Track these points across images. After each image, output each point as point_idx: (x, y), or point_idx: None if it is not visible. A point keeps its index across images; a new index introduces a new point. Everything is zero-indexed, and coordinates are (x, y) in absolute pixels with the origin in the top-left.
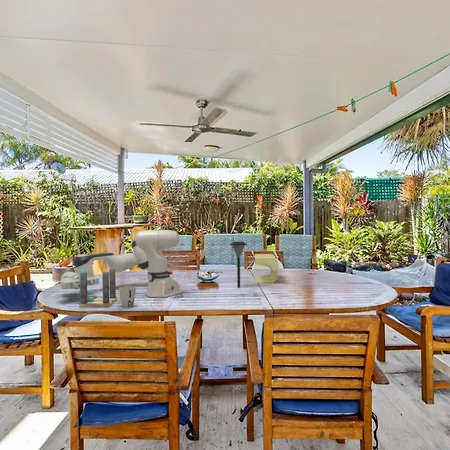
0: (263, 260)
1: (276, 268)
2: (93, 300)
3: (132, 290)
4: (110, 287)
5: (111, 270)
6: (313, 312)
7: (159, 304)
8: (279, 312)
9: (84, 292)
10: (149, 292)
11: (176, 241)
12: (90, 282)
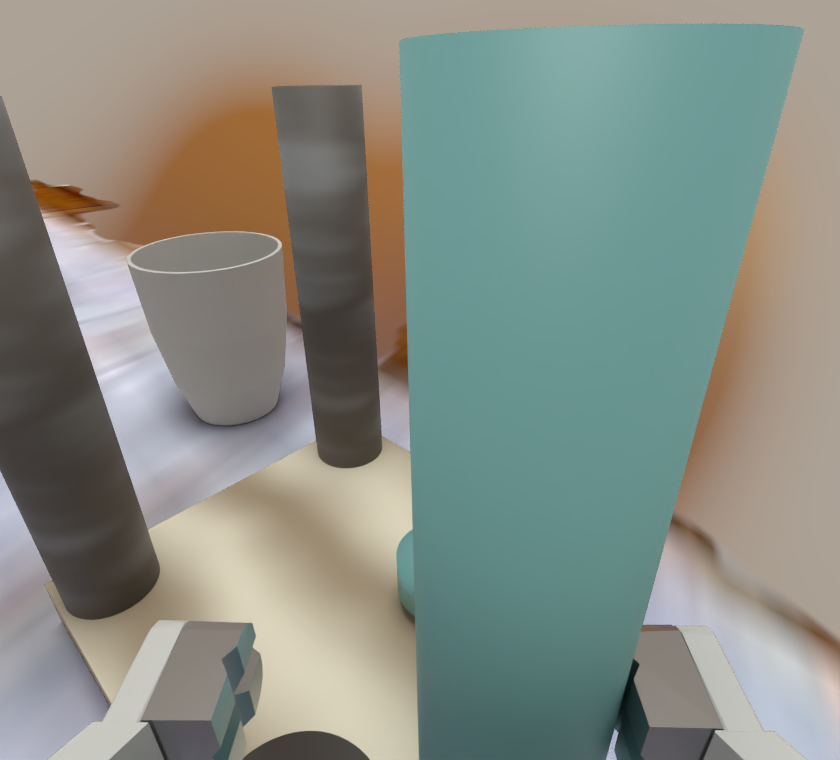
0: None
1: None
2: (384, 626)
3: (222, 250)
4: (113, 438)
5: (7, 116)
6: (59, 191)
7: (95, 347)
8: (84, 204)
9: None
10: None
11: None
12: (245, 630)
